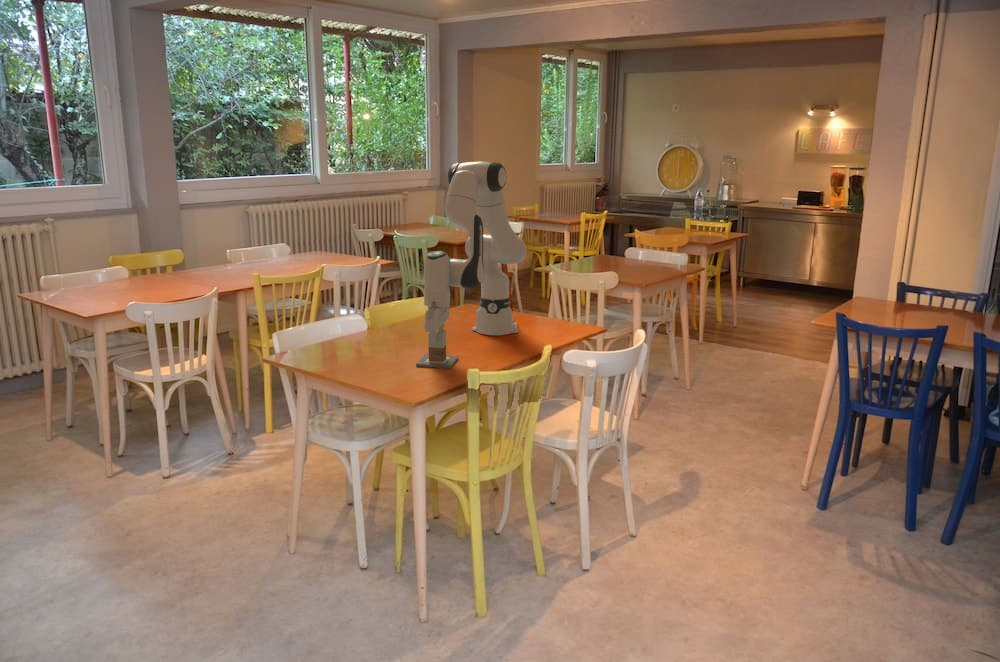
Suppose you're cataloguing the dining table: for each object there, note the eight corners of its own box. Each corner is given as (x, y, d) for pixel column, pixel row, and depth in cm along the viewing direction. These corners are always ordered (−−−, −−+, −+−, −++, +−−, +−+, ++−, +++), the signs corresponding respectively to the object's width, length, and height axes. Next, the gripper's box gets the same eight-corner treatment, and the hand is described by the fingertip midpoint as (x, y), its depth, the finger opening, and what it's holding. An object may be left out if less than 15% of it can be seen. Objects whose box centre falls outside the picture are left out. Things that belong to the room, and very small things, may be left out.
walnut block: (432, 357, 275) (432, 343, 273) (446, 357, 274) (446, 344, 273) (428, 361, 270) (428, 347, 269) (442, 362, 269) (442, 348, 268)
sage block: (432, 343, 273) (432, 329, 272) (446, 344, 273) (446, 330, 271) (428, 347, 269) (428, 333, 267) (442, 348, 268) (442, 334, 267)
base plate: (425, 356, 279) (425, 353, 279) (458, 358, 277) (458, 355, 277) (416, 366, 267) (416, 363, 267) (450, 368, 265) (450, 365, 265)
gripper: (438, 306, 256) (438, 347, 260) (452, 293, 276) (452, 331, 279) (419, 305, 257) (420, 346, 261) (435, 293, 277) (435, 330, 280)
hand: (437, 338), depth 270 cm, fingers open, 8 cm apart
